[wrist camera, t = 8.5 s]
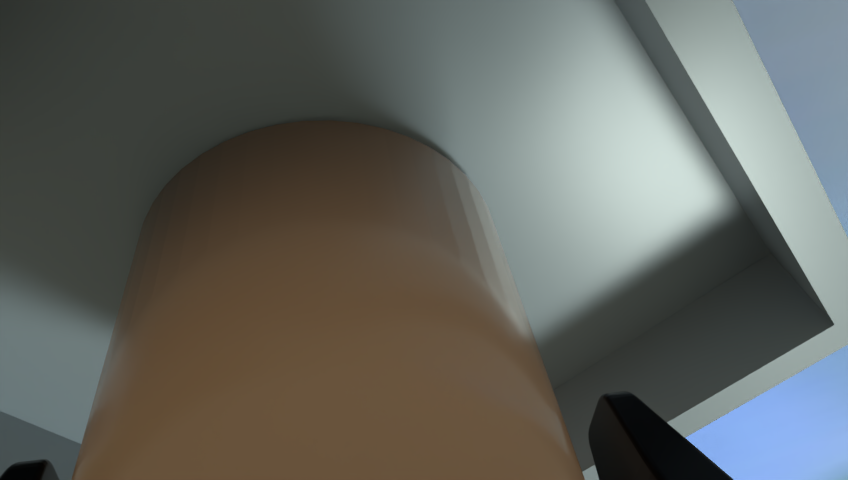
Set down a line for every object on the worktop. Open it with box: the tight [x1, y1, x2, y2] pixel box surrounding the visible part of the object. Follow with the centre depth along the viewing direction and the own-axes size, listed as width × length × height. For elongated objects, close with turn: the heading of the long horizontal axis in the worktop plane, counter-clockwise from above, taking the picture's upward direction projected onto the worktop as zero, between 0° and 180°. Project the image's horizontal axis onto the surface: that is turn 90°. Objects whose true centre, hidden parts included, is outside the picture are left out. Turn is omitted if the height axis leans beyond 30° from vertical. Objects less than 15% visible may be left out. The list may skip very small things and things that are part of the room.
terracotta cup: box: [71, 120, 585, 480], centre depth 9 cm, size 6×6×7 cm
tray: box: [0, 0, 848, 480], centre depth 12 cm, size 14×14×3 cm
